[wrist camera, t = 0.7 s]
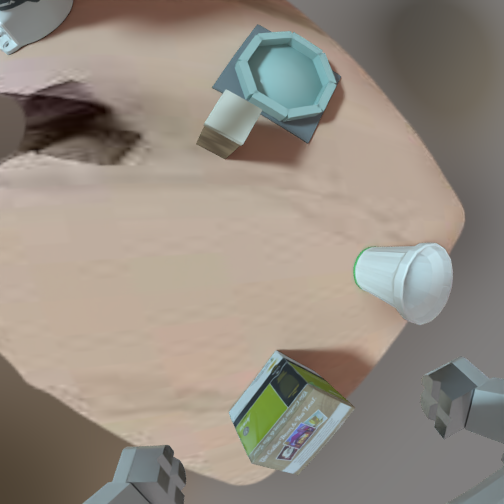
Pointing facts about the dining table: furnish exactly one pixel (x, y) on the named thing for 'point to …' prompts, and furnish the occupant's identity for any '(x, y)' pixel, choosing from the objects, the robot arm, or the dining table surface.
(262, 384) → the tea box
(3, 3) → the robot arm
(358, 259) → the cup
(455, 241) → the dining table surface
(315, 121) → the place mat
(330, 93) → the bowl
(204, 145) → the lidded brown carton
